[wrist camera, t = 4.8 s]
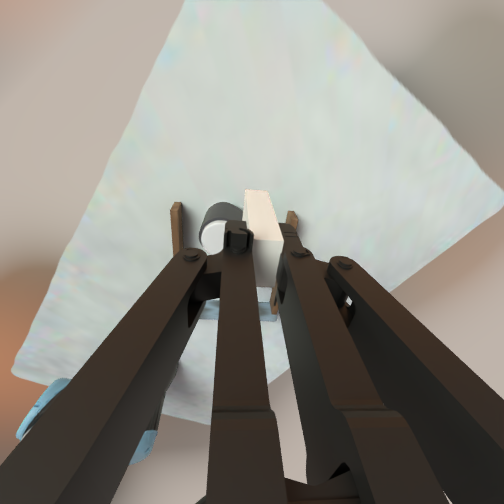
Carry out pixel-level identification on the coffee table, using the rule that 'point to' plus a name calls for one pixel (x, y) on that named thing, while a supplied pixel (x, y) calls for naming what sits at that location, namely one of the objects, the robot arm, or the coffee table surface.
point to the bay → (212, 307)
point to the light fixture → (217, 225)
